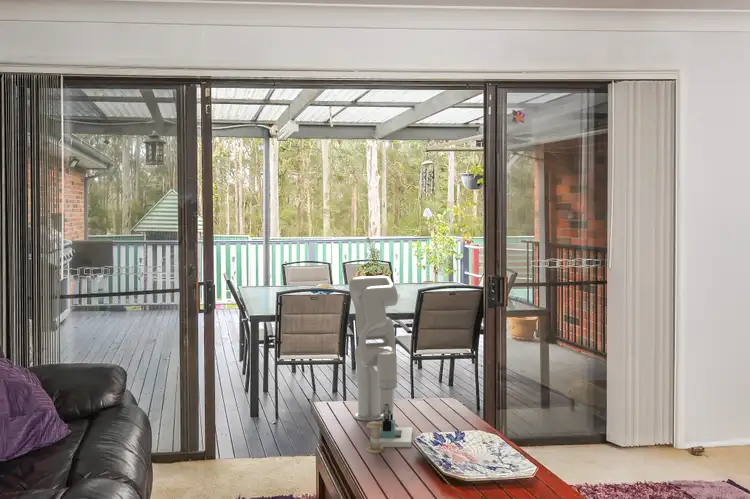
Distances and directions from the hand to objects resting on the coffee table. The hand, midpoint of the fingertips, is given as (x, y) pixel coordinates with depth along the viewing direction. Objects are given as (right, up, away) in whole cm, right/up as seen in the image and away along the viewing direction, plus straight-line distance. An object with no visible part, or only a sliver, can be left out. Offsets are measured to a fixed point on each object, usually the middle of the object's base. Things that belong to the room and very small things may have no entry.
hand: (387, 427), depth 292 cm
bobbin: (-5, -6, -13) cm, 15 cm away
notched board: (+2, -5, 0) cm, 5 cm away
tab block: (0, -5, 0) cm, 5 cm away
